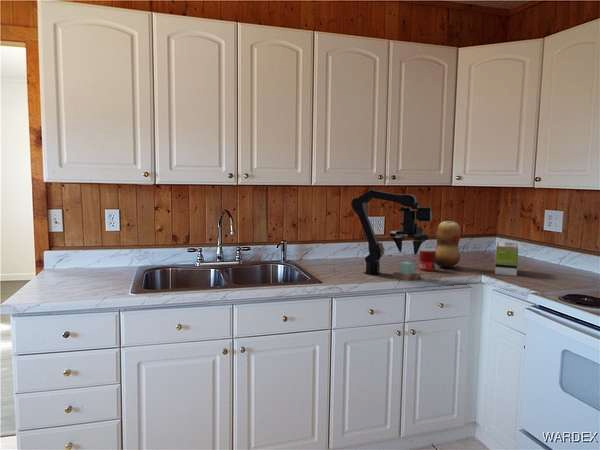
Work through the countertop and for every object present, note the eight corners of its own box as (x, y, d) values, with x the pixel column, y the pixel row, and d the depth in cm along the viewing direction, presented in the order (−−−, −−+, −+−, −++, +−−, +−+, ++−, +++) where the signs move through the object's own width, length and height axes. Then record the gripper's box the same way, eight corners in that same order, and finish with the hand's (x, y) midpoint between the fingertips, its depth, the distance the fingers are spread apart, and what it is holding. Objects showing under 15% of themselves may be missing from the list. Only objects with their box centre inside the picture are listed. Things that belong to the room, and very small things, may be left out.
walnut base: (408, 280, 193) (408, 276, 193) (393, 276, 200) (393, 272, 200) (420, 277, 198) (420, 273, 198) (405, 274, 205) (405, 270, 205)
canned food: (435, 272, 211) (436, 250, 210) (419, 271, 213) (420, 250, 212) (433, 268, 219) (434, 248, 218) (418, 268, 220) (419, 247, 219)
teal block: (407, 274, 195) (407, 264, 195) (399, 272, 199) (399, 262, 199) (414, 273, 198) (414, 263, 198) (406, 271, 202) (406, 261, 202)
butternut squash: (445, 271, 213) (447, 223, 211) (427, 266, 226) (429, 220, 223) (465, 268, 219) (467, 222, 216) (447, 264, 231) (449, 219, 229)
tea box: (495, 268, 221) (496, 241, 220) (516, 270, 217) (517, 242, 215) (494, 274, 208) (496, 245, 206) (516, 276, 203) (518, 246, 202)
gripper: (436, 221, 193) (434, 254, 195) (404, 218, 208) (403, 249, 210) (420, 222, 187) (419, 256, 188) (389, 219, 202) (388, 251, 203)
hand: (407, 253), depth 198 cm, fingers open, 9 cm apart
